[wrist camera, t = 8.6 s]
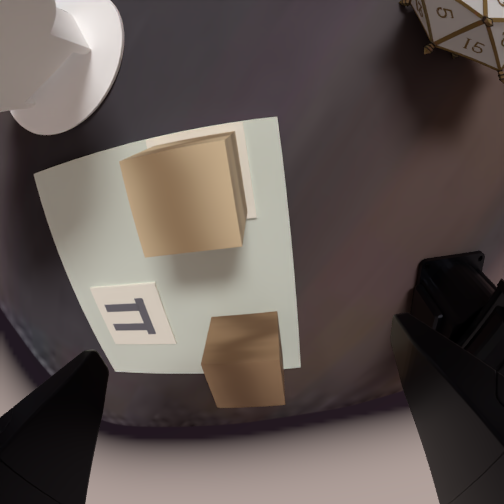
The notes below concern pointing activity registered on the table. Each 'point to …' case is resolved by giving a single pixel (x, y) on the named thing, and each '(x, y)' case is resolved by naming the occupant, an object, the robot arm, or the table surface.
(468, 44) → the game die
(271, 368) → the walnut block
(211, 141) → the oak block
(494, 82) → the table surface
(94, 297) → the board
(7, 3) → the white rounded piece
